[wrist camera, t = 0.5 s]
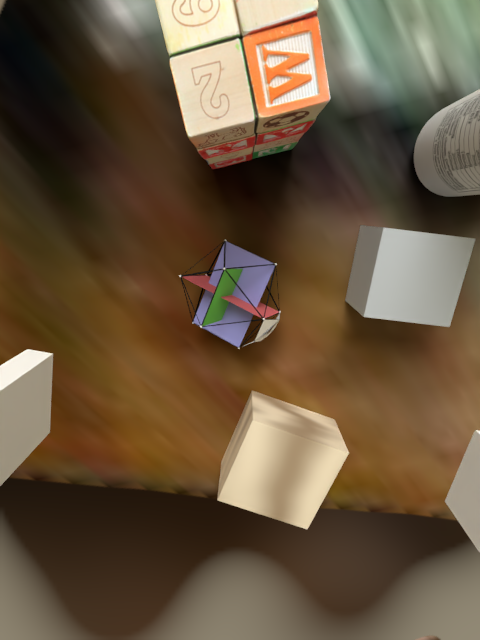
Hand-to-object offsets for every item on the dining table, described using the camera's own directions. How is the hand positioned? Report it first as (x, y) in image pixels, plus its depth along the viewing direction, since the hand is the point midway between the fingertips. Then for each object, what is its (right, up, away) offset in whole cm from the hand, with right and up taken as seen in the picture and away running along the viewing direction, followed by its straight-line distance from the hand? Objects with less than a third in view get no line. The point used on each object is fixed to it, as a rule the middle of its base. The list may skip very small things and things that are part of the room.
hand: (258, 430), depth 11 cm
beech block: (+3, -8, +22) cm, 24 cm away
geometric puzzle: (-1, +6, +18) cm, 19 cm away
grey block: (+11, +8, +18) cm, 22 cm away
